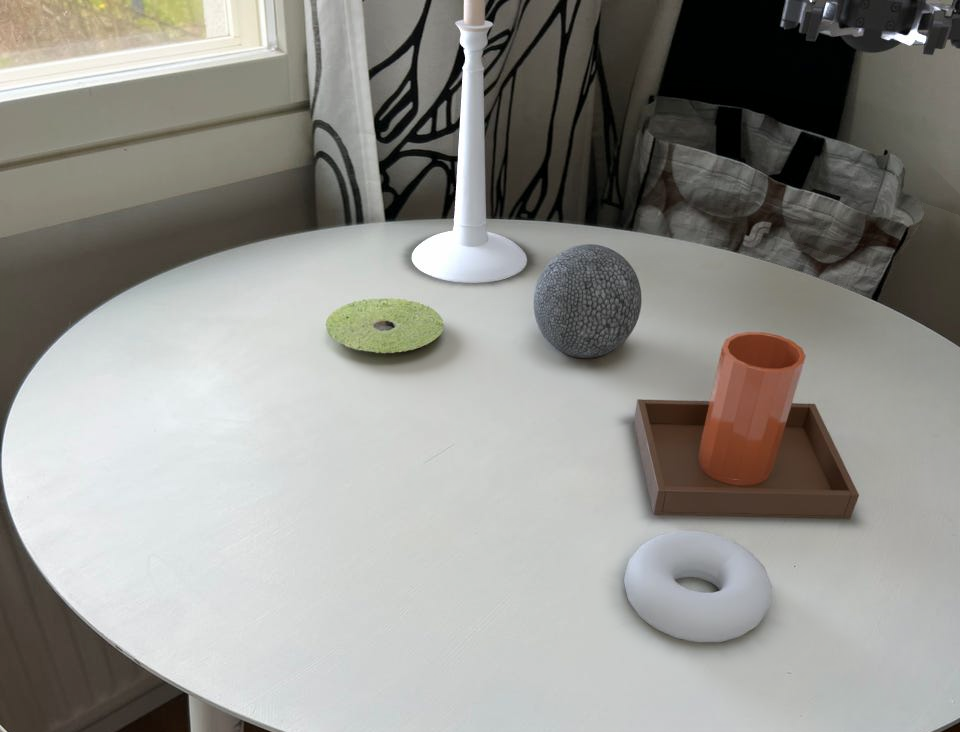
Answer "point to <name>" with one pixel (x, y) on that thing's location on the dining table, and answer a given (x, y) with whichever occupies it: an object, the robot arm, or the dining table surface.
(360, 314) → the green disc
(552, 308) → the decorative ball
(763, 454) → the cup
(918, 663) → the dining table surface
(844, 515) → the tray
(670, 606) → the donut
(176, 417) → the dining table surface
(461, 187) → the candlestick
